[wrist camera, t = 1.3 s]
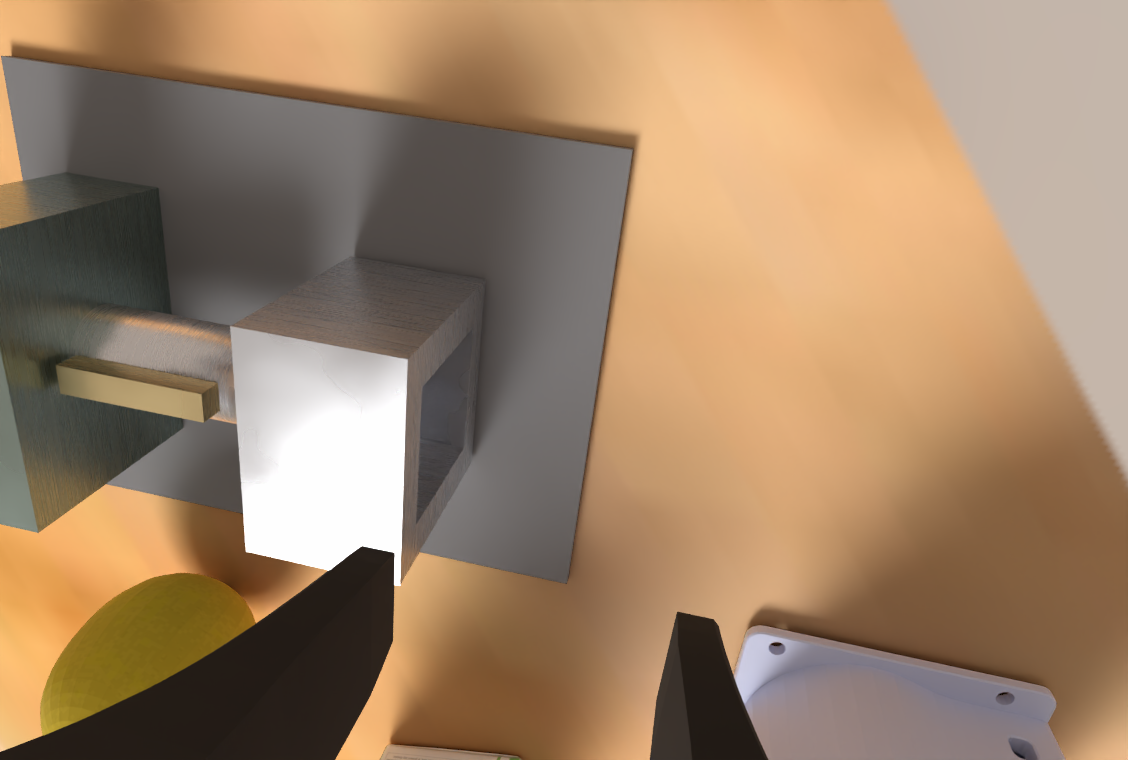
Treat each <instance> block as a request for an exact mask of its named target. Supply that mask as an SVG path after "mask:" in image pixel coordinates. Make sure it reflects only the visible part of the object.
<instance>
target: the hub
mask: <svg viewBox="0 0 1128 760" xmlns="http://www.w3.org/2000/svg"><path fill="white" fill-rule="evenodd" d="M485 282H486V280H485V279H480V278H474V277H468V276H462V275H456V274H451V273H445V272H439V271H433V270H427V269H422V268H416V267H410V266H404V265H398V264H393V263H387V262H381V261H375V260H369V259H364V258H358V257H352V256H350V257H348V258H347V259H345V260H343V261H341V262H340V263H338V264H336V265H334V266H333V267H331V268H329V269H328V270H326V271H324V272H322V273H321V274H319V275H317V276H316V277H314V278H312V279H310V280H309V281H307V282H305V283H304V284H302V285H300V286H298V287H297V288H295V289H293V290H292V291H290V292H288V293H286V294H285V295H283V296H281V297H279V298H278V299H276V300H274V301H273V302H271V303H269V304H267V305H266V306H264V307H262V308H261V309H259V310H257V311H255V312H254V313H252V314H250V315H249V316H247V317H245V318H243V319H242V320H240V321H238V322H237V323H235V324H233V325H231V326H230V332H231V346H232V360H233V374H234V389H235V403H236V417H237V432H238V446H239V460H240V475H241V489H242V503H243V518H244V532H245V546H246V552H250V553H255V554H259V555H264V556H268V557H273V558H277V559H282V560H286V561H291V562H295V563H300V564H304V565H309V566H313V567H318V568H322V569H326V570H330V569H331V568H332V567H334V566H335V565H336V564H338V563H339V562H340V561H342V560H343V559H344V558H345V557H347V556H348V555H349V554H351V553H352V552H353V551H355V550H356V549H358V548H359V547H361V546H366V547H371V548H376V549H380V550H385V551H390V552H395V576H394V585H398V586H400V584H401V583H402V581H403V579H404V578H405V576H406V574H407V572H408V571H409V569H410V567H411V566H412V564H413V562H414V560H415V559H416V557H417V555H418V554H419V552H420V550H421V548H422V547H423V545H424V543H425V542H426V540H427V538H428V537H429V535H430V533H431V531H432V530H433V528H434V526H435V525H436V523H437V521H438V519H439V518H440V516H441V514H442V513H443V511H444V509H445V507H446V506H447V504H448V502H449V501H450V499H451V497H452V495H453V494H454V492H455V490H456V489H457V487H458V485H459V483H460V482H461V480H462V478H463V477H464V475H465V473H466V471H467V470H468V468H469V466H470V465H471V461H472V448H473V435H474V423H475V410H476V397H477V384H478V372H479V359H480V346H481V333H482V321H483V308H484V295H485Z"/></svg>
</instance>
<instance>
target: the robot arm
mask: <svg viewBox="0 0 1128 760" xmlns="http://www.w3.org/2000/svg"><path fill="white" fill-rule="evenodd" d="M394 576H395V552H390V551H385V550H380V549H376V548H371V547H366V546H361V547H359V548H358V549H356V550H355V551H353V552H352V553H351V554H349V555H348V556H347V557H345V558H344V559H343V560H342V561H340V562H339V563H338V564H336V565H335V566H334V567H332V568H331V569H330V570H329V571H327V572H326V573H325V574H323V575H322V576H321V577H319V578H318V579H317V580H316V581H314V582H313V583H312V584H310V585H309V586H308V587H306V588H305V589H304V590H302V591H301V592H300V593H298V594H297V595H295V596H294V597H293V598H291V599H290V600H289V601H287V602H286V603H284V604H283V605H282V606H280V607H279V608H277V609H276V610H275V611H273V612H272V613H271V614H269V615H268V616H266V617H265V618H263V619H262V620H261V621H259V622H258V623H256V624H255V625H253V626H252V627H250V628H249V629H247V630H245V631H244V632H242V633H241V634H239V635H238V636H236V637H235V638H233V639H232V640H230V641H229V642H227V643H226V644H224V645H223V646H221V647H220V648H218V649H216V650H215V651H213V652H212V653H210V654H208V655H207V656H205V657H203V658H202V659H200V660H198V661H197V662H195V663H193V664H191V665H190V666H188V667H186V668H185V669H183V670H181V671H179V672H177V673H176V674H174V675H172V676H170V677H168V678H166V679H165V680H163V681H161V682H159V683H157V684H155V685H153V686H151V687H149V688H148V689H146V690H143V691H141V692H139V693H137V694H135V695H133V696H131V697H129V698H127V699H124V700H122V701H120V702H118V703H116V704H114V705H112V706H110V707H108V708H106V709H103V710H101V711H99V712H97V713H95V714H93V715H91V716H89V717H86V718H84V719H82V720H80V721H77V722H75V723H72V724H70V725H68V726H65V727H63V728H61V729H58V730H56V731H53V732H51V733H49V734H46V735H43V736H41V737H38V738H36V739H33V740H31V741H28V742H25V743H23V744H20V745H18V746H15V747H13V748H10V749H7V750H4V751H2V752H0V760H335V759H336V757H337V755H338V753H339V752H340V750H341V748H342V746H343V744H344V743H345V741H346V739H347V737H348V735H349V734H350V732H351V730H352V728H353V726H354V725H355V723H356V721H357V719H358V717H359V715H360V714H361V712H362V710H363V708H364V706H365V705H366V703H367V701H368V699H369V697H370V695H371V693H372V691H373V688H374V686H375V684H376V681H377V679H378V676H379V674H380V672H381V669H382V667H383V664H384V662H385V659H386V657H387V654H388V652H389V649H390V647H391V644H392V642H393V614H394ZM774 642H780V643H782V645H780V646H773V645H771V643H774ZM1002 692H1008V693H1007V694H1005V695H998V694H1000V693H1002ZM1056 704H1057V703H1056V701H1055V698H1054V696H1053V694H1052V692H1051V691H1050V690H1049V689H1048V688H1046V687H1043V686H1041V685H1036V684H1031V683H1027V682H1022V681H1017V680H1013V679H1008V678H1004V677H999V676H994V675H990V674H985V673H980V672H976V671H971V670H967V669H962V668H957V667H953V666H948V665H944V664H939V663H934V662H930V661H925V660H920V659H916V658H911V657H907V656H902V655H897V654H893V653H888V652H884V651H879V650H874V649H870V648H865V647H860V646H856V645H851V644H847V643H842V642H837V641H833V640H828V639H824V638H819V637H814V636H810V635H805V634H800V633H796V632H791V631H787V630H782V629H777V628H773V627H768V626H762V625H757V626H753V627H751V628H750V629H748V630H747V632H746V634H745V637H744V640H743V644H742V647H741V651H740V654H739V658H738V661H737V665H736V668H735V672H734V675H733V673H732V670H731V667H730V664H729V661H728V658H727V655H726V652H725V648H724V645H723V641H722V638H721V634H720V630H719V626H718V625H717V623H716V622H715V621H714V619H709V618H705V617H700V616H695V615H690V614H686V613H681V612H677V615H676V619H675V623H674V627H673V632H672V636H671V640H670V645H669V649H668V653H667V657H666V662H665V666H664V670H663V674H662V679H661V683H660V687H659V691H658V696H657V700H656V709H655V718H654V727H653V736H652V746H651V755H650V760H1066V759H1065V757H1064V755H1063V753H1062V751H1061V749H1060V747H1059V745H1058V743H1057V741H1056V739H1055V737H1054V735H1053V733H1052V730H1051V728H1050V726H1049V724H1048V722H1049V720H1050V718H1051V716H1052V714H1053V712H1054V711H1055V709H1056Z"/></svg>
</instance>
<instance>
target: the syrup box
mask: <svg viewBox="0 0 1128 760" xmlns="http://www.w3.org/2000/svg"><path fill="white" fill-rule="evenodd" d="M380 760H521V758H520V757H519V756H512V755H503V754H493V753H483V752H473V751H463V750H451V749H442V748H429V747H416V746H403V745H393V744H389V745H387V746H386V748H385V750H384V752H383V754H382V756H381V758H380Z"/></svg>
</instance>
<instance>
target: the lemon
mask: <svg viewBox="0 0 1128 760" xmlns="http://www.w3.org/2000/svg"><path fill="white" fill-rule="evenodd" d="M255 624H256V623H255V620H254V617H253V614H252V612H251V610H250V608H249V607H248V605H247V603H246V602H245V601H244V599H243V598H242V597H241V596H240V595H239V594H238V593H237V592H236V591H235V590H233V589H232V588H231V587H229V586H228V585H227V584H225V583H223V582H221V581H219V580H217V579H215V578H212V577H208V576H205V575H200V574H191V573H176V574H169V575H163V576H158V577H154V578H151V579H149V580H146V581H144V582H142V583H140V584H138V585H136V586H134V587H132V588H130V589H128V590H126V591H124V592H122V593H121V594H119V595H117V596H116V597H114V598H113V599H112V600H110V601H109V602H108V603H106V604H105V605H104V606H103V607H102V608H100V609H99V610H98V611H97V612H96V613H95V614H94V615H93V616H92V617H91V618H90V619H89V620H88V621H87V622H86V623H85V625H84V626H83V627H82V628H81V629H80V630H79V631H78V632H77V634H76V635H75V636H74V637H73V638H72V640H71V641H70V642H69V644H68V645H67V646H66V648H65V649H64V651H63V652H62V654H61V655H60V657H59V658H58V660H57V662H56V663H55V665H54V667H53V669H52V671H51V673H50V676H49V678H48V680H47V683H46V686H45V689H44V692H43V696H42V700H41V711H40V716H41V728H42V734H43V735H46V734H49V733H51V732H53V731H56V730H58V729H61V728H63V727H65V726H68V725H70V724H72V723H75V722H77V721H80V720H82V719H84V718H86V717H89V716H91V715H93V714H95V713H97V712H99V711H101V710H103V709H106V708H108V707H110V706H112V705H114V704H116V703H118V702H120V701H122V700H124V699H127V698H129V697H131V696H133V695H135V694H137V693H139V692H141V691H143V690H146V689H148V688H149V687H151V686H153V685H155V684H157V683H159V682H161V681H163V680H165V679H166V678H168V677H170V676H172V675H174V674H176V673H177V672H179V671H181V670H183V669H185V668H186V667H188V666H190V665H191V664H193V663H195V662H197V661H198V660H200V659H202V658H203V657H205V656H207V655H208V654H210V653H212V652H213V651H215V650H216V649H218V648H220V647H221V646H223V645H224V644H226V643H227V642H229V641H230V640H232V639H233V638H235V637H236V636H238V635H239V634H241V633H242V632H244V631H245V630H247V629H249V628H250V627H252V626H253V625H255Z"/></svg>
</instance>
